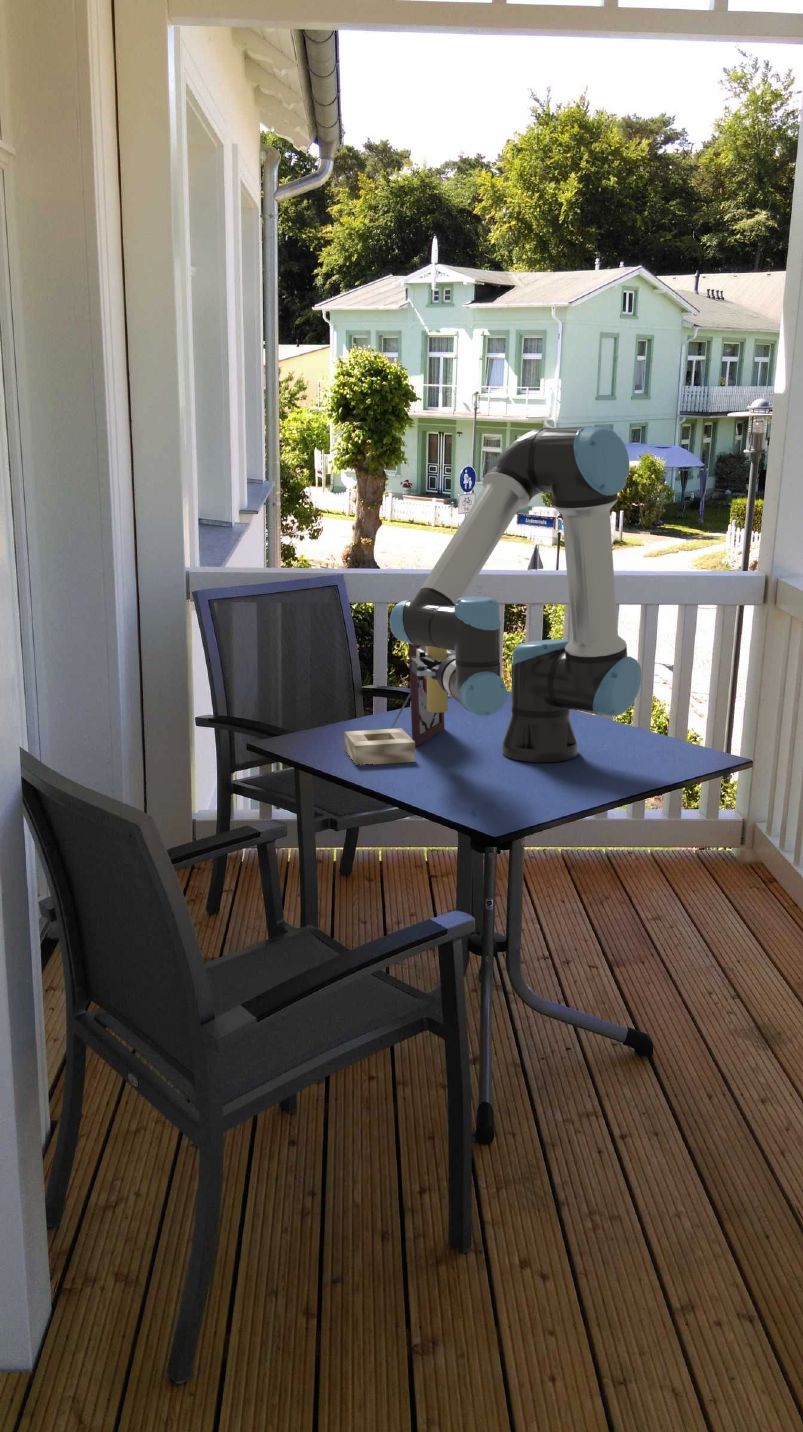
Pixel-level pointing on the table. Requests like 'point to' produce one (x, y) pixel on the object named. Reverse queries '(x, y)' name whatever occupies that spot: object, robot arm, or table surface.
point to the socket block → (379, 746)
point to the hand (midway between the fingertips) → (429, 654)
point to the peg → (436, 684)
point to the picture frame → (421, 706)
